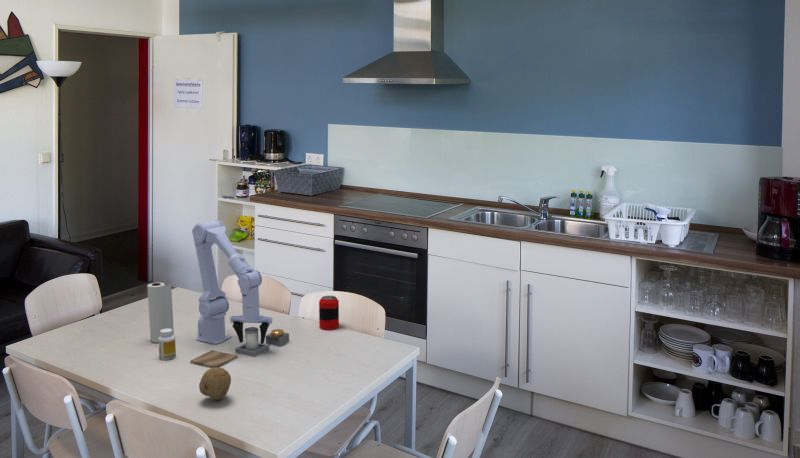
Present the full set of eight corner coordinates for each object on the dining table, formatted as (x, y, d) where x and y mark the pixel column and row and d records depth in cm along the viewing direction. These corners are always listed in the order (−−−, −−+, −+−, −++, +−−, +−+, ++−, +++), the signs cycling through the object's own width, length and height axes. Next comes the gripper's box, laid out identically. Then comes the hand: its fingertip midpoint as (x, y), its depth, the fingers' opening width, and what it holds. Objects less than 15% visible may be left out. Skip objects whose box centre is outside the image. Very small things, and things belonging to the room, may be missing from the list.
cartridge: (242, 351, 242) (242, 330, 241) (251, 347, 246) (250, 326, 245) (253, 354, 240) (252, 332, 239) (261, 349, 244) (260, 328, 243)
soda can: (337, 330, 265) (337, 300, 263) (318, 330, 265) (317, 300, 263) (339, 324, 272) (339, 294, 270) (320, 323, 272) (320, 294, 270)
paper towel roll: (147, 341, 251) (143, 285, 247) (158, 336, 256) (155, 281, 252) (162, 344, 248) (159, 287, 244) (174, 339, 254) (171, 283, 249)
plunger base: (265, 343, 250) (265, 335, 250) (275, 338, 256) (275, 330, 255) (279, 346, 248) (279, 338, 247) (289, 341, 253) (288, 333, 253)
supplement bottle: (179, 355, 238) (177, 328, 236) (169, 361, 233) (167, 333, 231) (166, 353, 240) (164, 326, 238) (156, 358, 235) (154, 331, 233)
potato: (202, 408, 198) (200, 376, 196) (197, 396, 206) (196, 364, 204) (234, 403, 202) (232, 371, 200) (228, 391, 210) (227, 360, 208)
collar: (235, 352, 241) (234, 348, 241) (250, 345, 249) (249, 341, 248) (254, 356, 238) (254, 352, 237) (269, 348, 245) (269, 344, 245)
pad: (190, 362, 232) (190, 360, 232) (212, 352, 241) (212, 350, 241) (216, 368, 227) (216, 366, 227) (237, 357, 237) (237, 355, 237)
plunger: (268, 340, 250) (268, 332, 250) (276, 336, 254) (275, 328, 254) (278, 342, 249) (278, 333, 248) (285, 338, 253) (285, 330, 252)
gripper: (274, 302, 243) (275, 339, 246) (234, 301, 244) (235, 337, 247) (268, 308, 236) (269, 346, 239) (227, 307, 238) (229, 344, 240)
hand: (252, 342), depth 243 cm, fingers open, 7 cm apart
